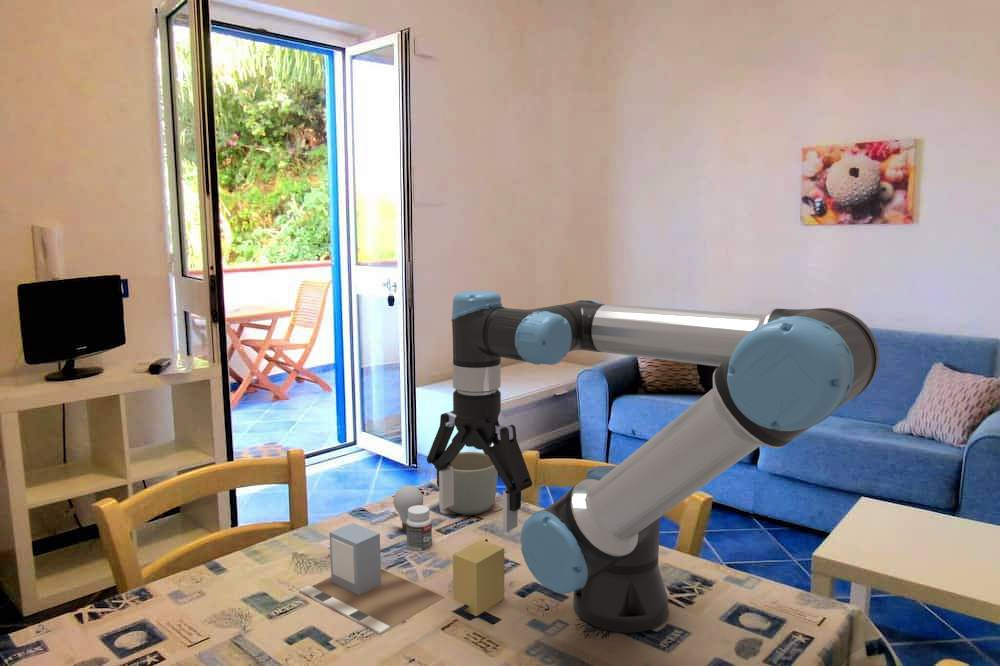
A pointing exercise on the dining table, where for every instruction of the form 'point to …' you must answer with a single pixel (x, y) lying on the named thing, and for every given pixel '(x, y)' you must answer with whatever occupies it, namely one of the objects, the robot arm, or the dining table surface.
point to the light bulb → (406, 501)
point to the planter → (473, 483)
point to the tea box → (479, 576)
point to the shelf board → (375, 601)
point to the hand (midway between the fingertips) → (477, 517)
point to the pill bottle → (419, 528)
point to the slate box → (355, 558)
